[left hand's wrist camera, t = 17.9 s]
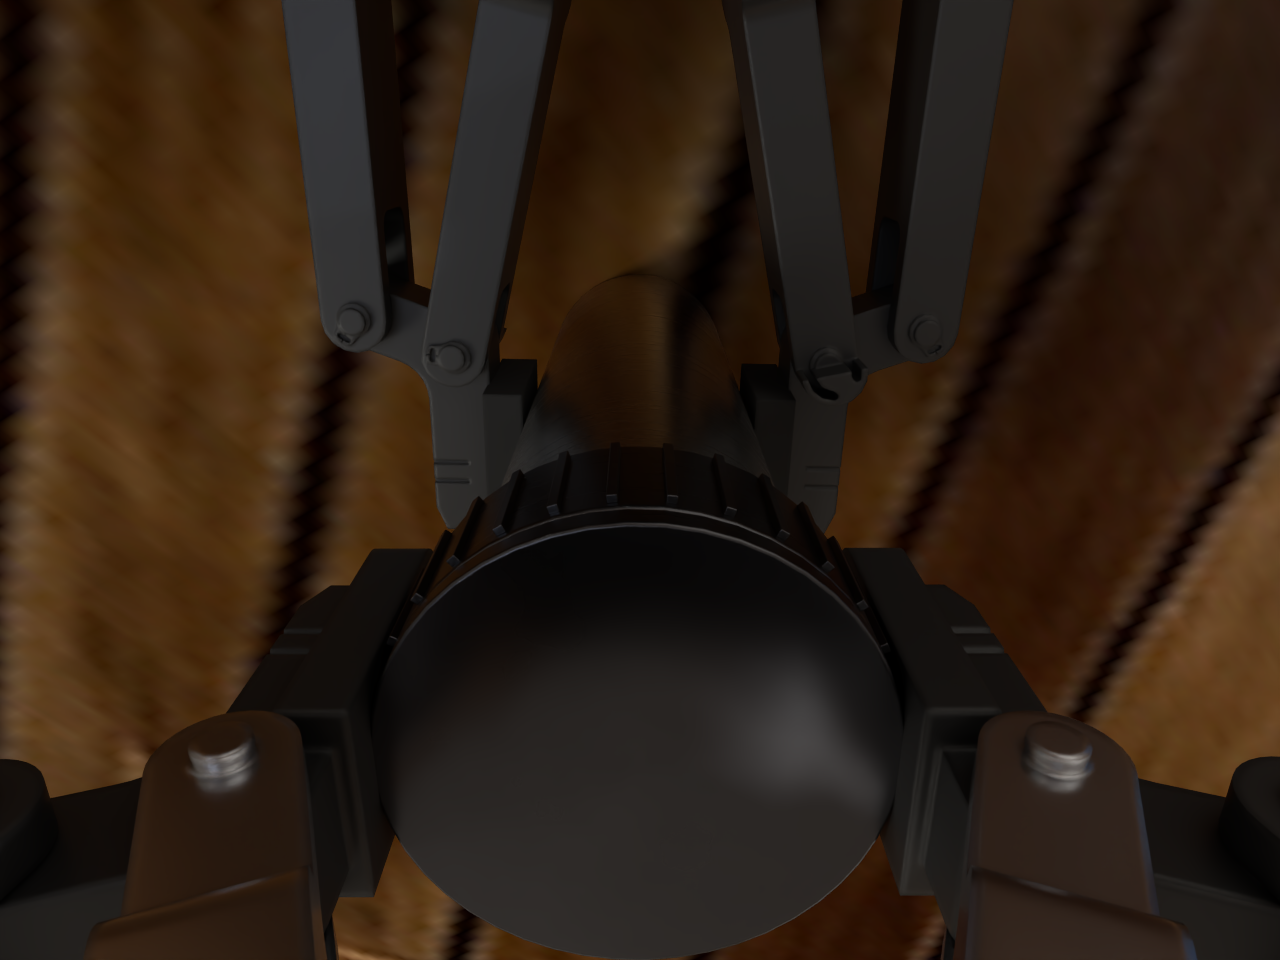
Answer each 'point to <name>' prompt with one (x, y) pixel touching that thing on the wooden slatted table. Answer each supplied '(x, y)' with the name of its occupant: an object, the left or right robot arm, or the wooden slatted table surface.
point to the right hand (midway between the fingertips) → (633, 649)
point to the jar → (638, 380)
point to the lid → (637, 708)
